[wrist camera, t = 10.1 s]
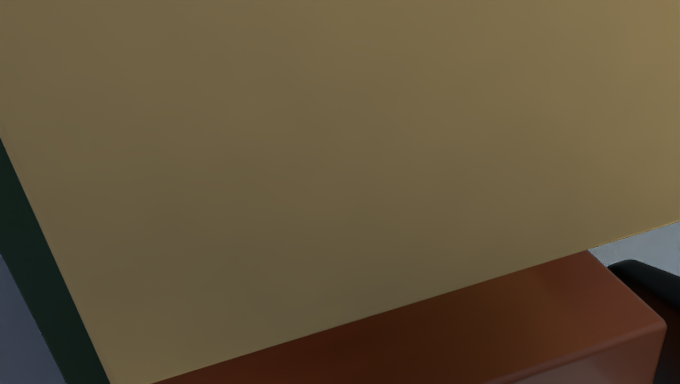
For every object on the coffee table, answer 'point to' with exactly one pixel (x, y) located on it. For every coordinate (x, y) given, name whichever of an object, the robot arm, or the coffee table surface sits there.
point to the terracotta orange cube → (477, 337)
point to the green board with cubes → (313, 161)
